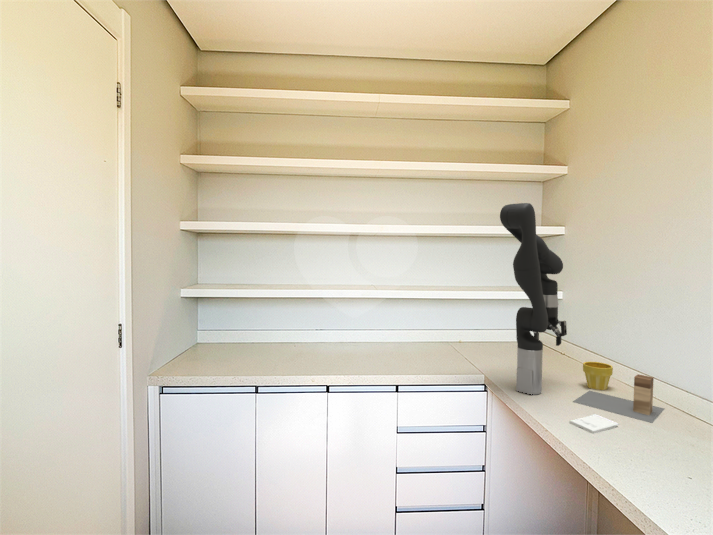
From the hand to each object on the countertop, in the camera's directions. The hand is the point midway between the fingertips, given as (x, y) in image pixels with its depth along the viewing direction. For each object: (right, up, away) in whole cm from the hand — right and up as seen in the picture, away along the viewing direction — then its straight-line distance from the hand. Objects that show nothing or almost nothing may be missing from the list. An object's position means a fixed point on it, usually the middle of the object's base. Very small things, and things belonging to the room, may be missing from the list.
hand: (547, 343), depth 166 cm
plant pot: (+18, -18, -4) cm, 26 cm away
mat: (+14, -18, -23) cm, 33 cm away
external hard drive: (-3, -20, -38) cm, 43 cm away
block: (+19, -18, -29) cm, 39 cm away
